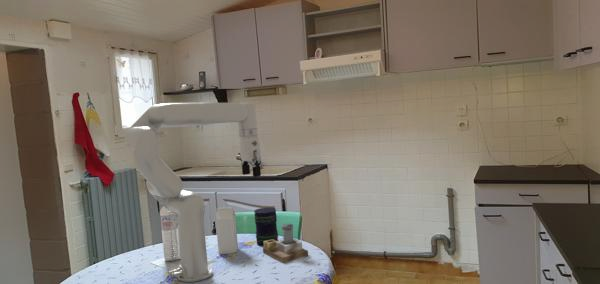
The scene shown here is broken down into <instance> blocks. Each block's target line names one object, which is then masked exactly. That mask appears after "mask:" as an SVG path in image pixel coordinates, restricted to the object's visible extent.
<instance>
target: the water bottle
mask: <svg viewBox="0 0 600 284" xmlns="http://www.w3.org/2000/svg"><path fill="white" fill-rule="evenodd" d="M159 215H160V223H161V224H160V225H161V237H162V247H163V258H164V261H166V262H167V261H173V262H177V261H179V260H181V258H180V248H179V237H178V222H179V218H178V215H177V214H174V213H172V212H170V211H169V210H167V209H166V208H165V207H164V206H163V205H162V207H161V208H160V210H159ZM176 260H177V261H176Z"/></svg>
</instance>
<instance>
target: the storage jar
mask: <svg viewBox="0 0 600 284" xmlns="http://www.w3.org/2000/svg"><path fill="white" fill-rule="evenodd" d="M276 211H277V209H276V208H275V207H260V208H256V209H255V210H254V211H253V213H254V224H255V228H256V229H255V230H256V231H255V239H256V245H257V246H259V247H264V243H263V241H267V240H271V239H274V240H276V241H279V240H278V239H279V233H278V229H277V228H278V227H277V220H278V219H277V217H278V216H277V212H276Z"/></svg>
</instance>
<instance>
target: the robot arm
mask: <svg viewBox="0 0 600 284" xmlns="http://www.w3.org/2000/svg"><path fill="white" fill-rule="evenodd" d="M226 123H229V124H230V123H237V127H238V136H239V137H238V138H239V151H240V152H239V157H240V162H241V170H242V173H241V174H242V175H244V176H245V175H250V174H251V170H250V164H249V163H251V164H252V177H253V178H257V177H261V176H262V174H261V166H262V165H261V163H262V153H261V151H262V150H261V146H260V140H259V137H258V136H259V135H258V122H257V109H256V104H255V103H254V102H237V101H236V102H234V101H233V102H167V103H158V104H154V105H152V106H150V107H149V108H148V109H147V110H146V111H145V112H144V113H143V114H141V116H140V117H139V118H138V119H137V120H136V121H135V122H134V123H133V124H132V125H131V126H130V127H128V129H127V130H126V132H125V135H124V143H125V145H126V147H127V148H128V149H130V150H132V151H133V162H134V166H135V168H136V170H137V172H138V173H139V174H140V175H141V176H142V177H143V178H144V179H145V180H146V183H145V184H146V189H147V191H148V192H149V194H150V195H151V196H153V198H154V199H155V200H157V202H159V203H160V204H161V205H162V207H163V206H164V207H165V208H166V209H167V210H169V211H170V212H172V213H174V214H177V216H178V237H179V248H180V264H178V267H177V268H176V269H171V270H168V271H167V274H168V277H172V276H174V277H177V279H178V280H179V281H180V282H184V283H185V282H186V283H191V282H193V283H194V282H199V281H204V280H205V279H208V278H209V277H211V276H212V275H213V273H214V271H213V269H212V268H211V267H209V263H208V253H207V242H206V234H205V233H206V232H205V211H206V210H205V209H206V206H205V205H206V203H205V201H204V199H203V197H202V196H201V195H200V194H199V193H197V192H195V191H192V190H186V189H184V183H183V181H182V179H181V177H180V176H179V175H178V174H177V173H176V172H174V170H173V169H172V168H170V167H169V166H168V164H166V162H165V161H164V160H163V159H162V158H161V156H160V153H159V146H160V135H159V131H160V130H161V129H162V128H178V127H179V128H180V127H191V126H192V127H197V126H207V125H214V124H226Z"/></svg>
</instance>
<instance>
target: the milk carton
mask: <svg viewBox="0 0 600 284" xmlns="http://www.w3.org/2000/svg"><path fill="white" fill-rule="evenodd" d="M236 220H237V219H236V213H235V210H234V207H233V206H231V207H230V206H228V207H218V208H217V207H216V216H215V225H216V236H217V238H216V239H217V249H218V255H222V254H225V255H226V254H236V253H237V250H238V248H239V245H238V241H239V240H238V233H237V229H238V228H237V221H236Z"/></svg>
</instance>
